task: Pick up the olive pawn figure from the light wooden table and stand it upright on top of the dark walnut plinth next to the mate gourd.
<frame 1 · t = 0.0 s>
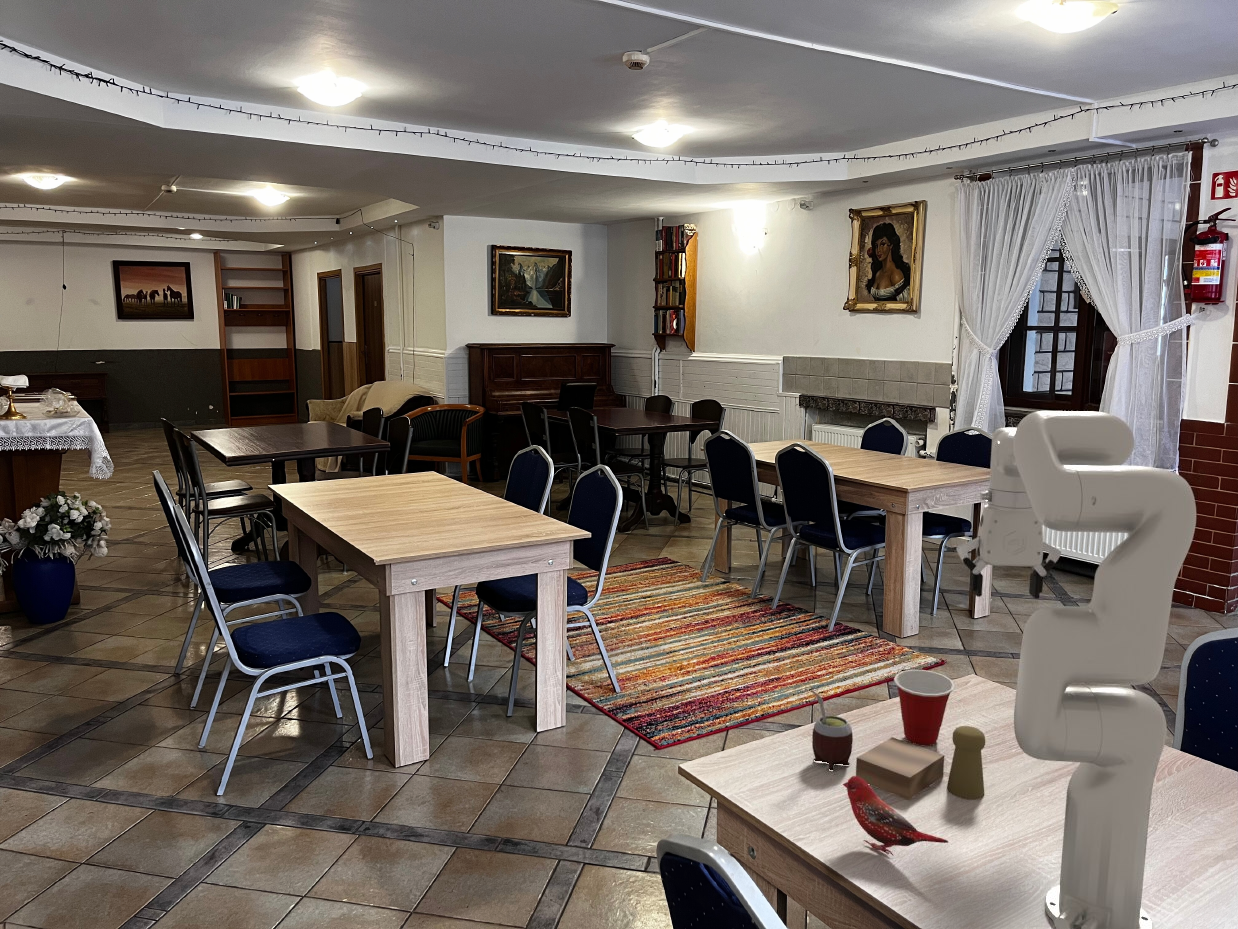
hand: (1005, 595, 161), 31 cm above the table, tool pointing down, fingers open, 9 cm apart
mate gourd: (829, 765, 165), on the table
plastic cup: (920, 741, 175), on the table
decorative bird figurine: (890, 857, 136), on the table
walnut plinth: (899, 778, 160), on the table
olive pawn figure: (965, 792, 156), on the table
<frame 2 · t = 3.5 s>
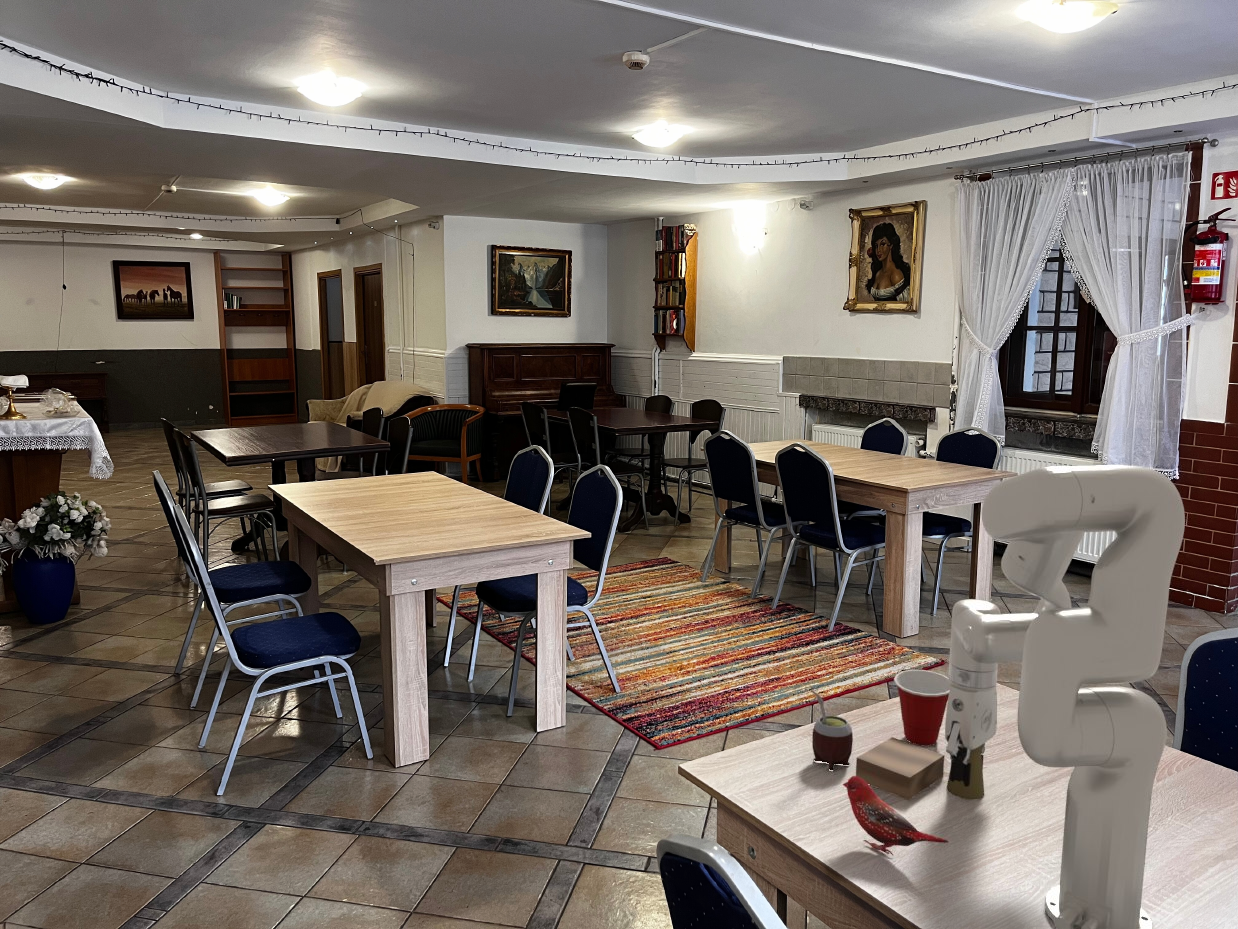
hand: (966, 778, 155), 2 cm above the table, tool pointing down, fingers closed on olive pawn figure, 3 cm apart
olive pawn figure: (965, 792, 156), on the table, touching gripper
everything else where it was.
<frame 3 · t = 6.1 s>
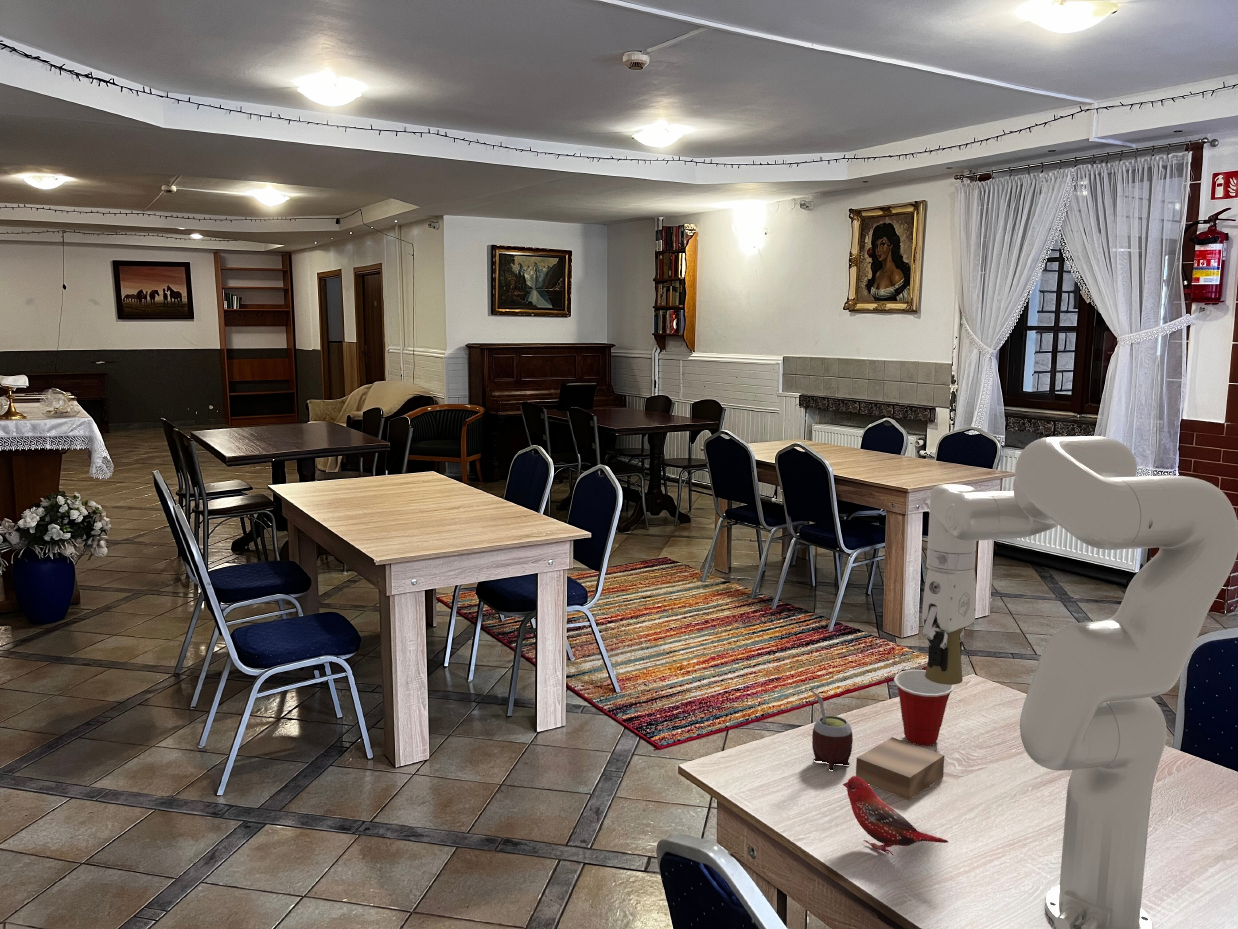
hand: (944, 664, 155), 21 cm above the table, tool pointing down, fingers closed on olive pawn figure, 3 cm apart
olive pawn figure: (943, 679, 155), point 19 cm above the table, touching gripper
everything else where it was.
when the fingers open (8 cm above the table, at t = 8.8 s): olive pawn figure drops 1 cm, resting on walnut plinth.
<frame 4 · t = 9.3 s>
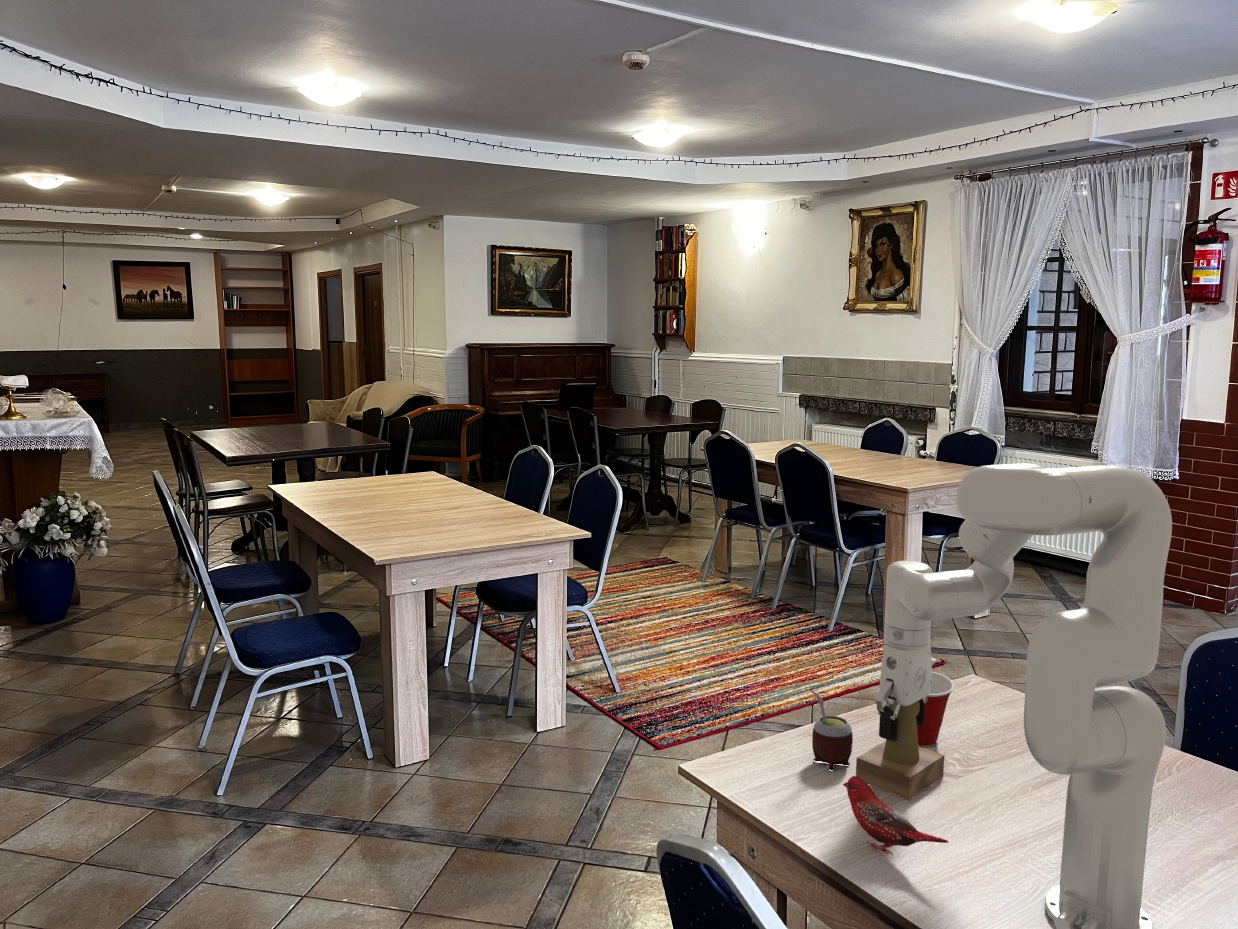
hand: (902, 730, 159), 9 cm above the table, tool pointing down, fingers open, 8 cm apart
olive pawn figure: (901, 757, 159), point 4 cm above the table, touching walnut plinth
everything else where it was.
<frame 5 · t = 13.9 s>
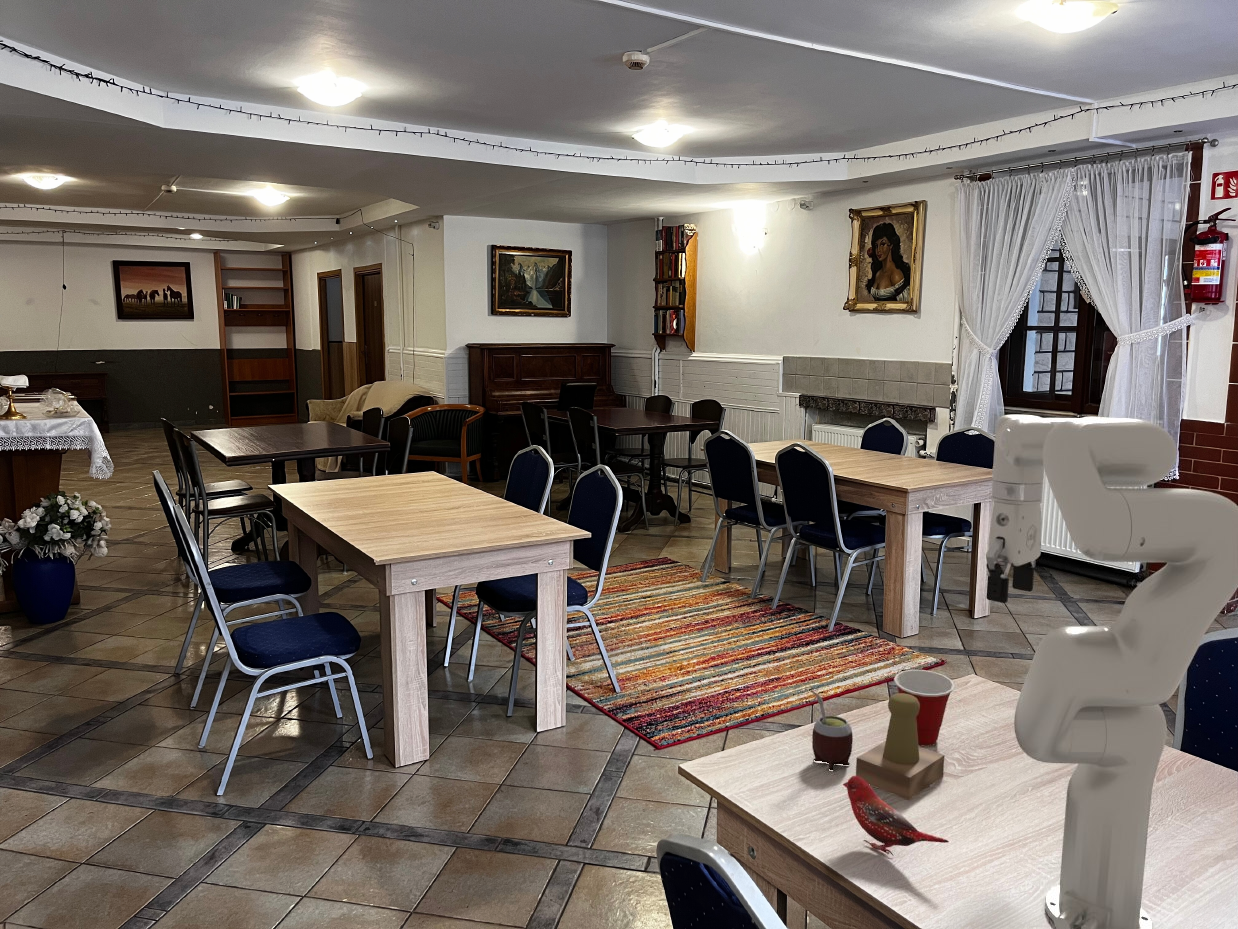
hand: (1009, 595, 150), 34 cm above the table, tool pointing down, fingers open, 9 cm apart
nothing on the table moved.
at the end: olive pawn figure inside the target area on the walnut plinth (0.1 cm from its centre), point 3.8 cm above the walnut plinth's base; olive pawn figure tilted 0°; the gripper is holding nothing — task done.
